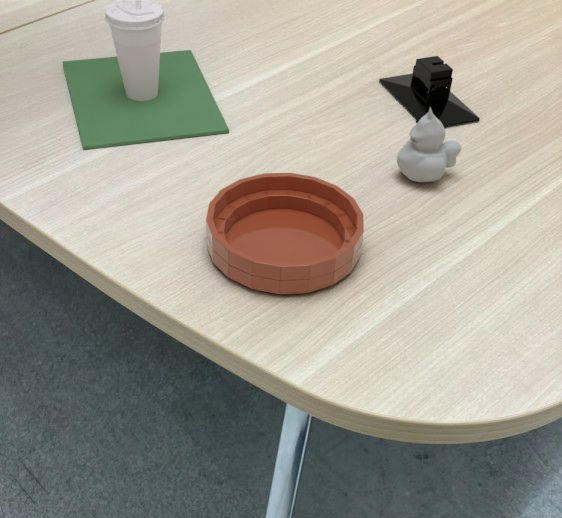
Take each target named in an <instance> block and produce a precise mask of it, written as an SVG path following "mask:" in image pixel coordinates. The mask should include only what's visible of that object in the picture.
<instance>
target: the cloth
mask: <svg viewBox="0 0 562 518" xmlns="http://www.w3.org/2000/svg"><path fill="white" fill-rule="evenodd" d="M62 66H63V70H64V75H65V78H66V79H65V80H66V82H67V83H66V84H67V87H68V91H69V95H70V99H71V104H72V108H73V113H74V116H75V121H76V125H77V129H78V133H79V137H80V142H81V145H82V150H92V149H101V148H109V147H110V148H111V147H119V146H127V145H137V144H144V143H154V142H163V141H170V140H178V139H186V138H187V139H188V138H197V137H205V136H213V135H221V134H229V133H230V129H229V126H228V125H227V123H226V119H225V118H224V117H223V114H222V111H221V110H220V108H219V106H218V104H217V102H216V100H215V97H214V96H213V94H212V91H211V89H210V87H209V85H208V83H207V81H206V78H205V77H204V75H203V72H202V71H201V69H200V67H199V64H198V62H197V59H196V58H195V56H194V53H193V52H192V50H191V49H184V50H175V51H163V52H160V64H159V84H158V95H157V96H156V97H155V98H154V99H151V100H148V101H135V100H132V99H130V98H128V97H127V95H126V92H125V88H124V83H123V79H122V75H121V71H120V67H119V63H118V58H117V56H108V57H97V58H87V59H76V60H64V61H62Z"/></svg>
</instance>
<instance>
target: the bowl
mask: <svg viewBox="0 0 562 518" xmlns="http://www.w3.org/2000/svg"><path fill="white" fill-rule="evenodd" d="M364 223H365V222H364V213H363V211H362V209H361V208H360V206H359V205H358V203H357V201H356V200H355V198H354V197H353V196H352V195H350V194H349V193H347V192H346V191H345V190H344V189H342V188H341V187H340V186H338V185H336V184H335V183H332V182H329V181H326V180H324V179H321V178H319V177H316V176H312V175H306V174H300V173H294V172H266V173H265V172H263V173H259V174H256V175H251V176H246V177H242V178H239V179H238V180H236V181H234V182H232V183H230V184H229V185H227V186H224V187H223V188H222V189H220V190H219V191H218V193H216V195H215V196H214V197H213V198H212V200H211V201H210V202H209V203H208V207H207V212H206V217H205V230H206V233H205V234H206V247H207V252H208V253H209V256H210V258H211V261H212V263H213V265H214V266H215V267H217V269H219V270H220V271H221V272H222V273H223V275H225V276H226V277H227V278H228V279H230V280H231V281H235V282H237V283H239V284H241V285H242V286H244V287H247V288H249V289H252V290H255V291H261V292H266V293H271V294H277V295H291V294H292V295H295V294H308V293H312V292H315V291H318V290H322V289H324V288H328V287H332V286H334V285H335V284H338V282H340V281H341V280H342V279H344V278H345V277H347V276H348V275H350V274H351V273H352V271H353V270H354V268H355V267H356V264H357V263H358V261H359V259H360V257H361V251H362V245H363V239H364V232H365V226H364Z"/></svg>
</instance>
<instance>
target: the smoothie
mask: <svg viewBox="0 0 562 518" xmlns="http://www.w3.org/2000/svg"><path fill="white" fill-rule="evenodd" d="M165 17H166V16H165V11H164V6H163V5H162V4H161V3H160V2H158V1H156V0H113V1H111V2H110V3H108V4H107V5H106V6H105V8H104V20H105V23H107V24H108V25H109V28H110V33H111V38H112V42H113V46H114V50H115V55H116V57H117V58H118V63H119V67H120V71H121V75H122V79H123V83H124V88H125V92H126V95H127V97H128V98H130V99H132V100H135V101H148V100H151V99H154V98H155V97H156V96H157V95H158V84H159V64H160V53H161V43H162V23H163V22H164V21H165Z"/></svg>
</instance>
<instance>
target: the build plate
mask: <svg viewBox="0 0 562 518" xmlns="http://www.w3.org/2000/svg"><path fill="white" fill-rule="evenodd" d="M453 71H454V69H453V68H452V67H451V66H450V65H449V64H448V63H445V61H444V60H443V59H442V58H441V57H440V56H439V55H433V56H427V57H419V58H416V59H415V65H413V68H412V73H407V74H401V75H394V76H389V77H382V78H379V80H378V82H379V84H381V86H382V87H383V88H384V89H385V90H386V91H387V92H388V93H389V94H390V95H391V96H392V97H393V98H394V99H395V100H396V101H397V102H398V103H399V104H400V105H401V106H402V107H403V108H404V109H405V110H406V111H407V113H409V115H411V116H412V117H413V118H414V119H415V123H416V124H417V123H418V122H419V120H420V119H421V118H422V117H423V116H424V115H426V114H427V113H428V112H429V109H430V107H431V110H432V113H433V114H434V116H435V117H436V118H437V119H438V120H440V121H441V123H442V124H443V126H444V128H445V129H447V128H452V127H457V126H462V125H469V124H474V123H479V122H480V121H481V118H480V117H479V116H478V115H477V114H476V113H475V112H474V111H473V110H472V109H470V108H469V107H468V106H467V105H466V104H465V103H464V102H463V101H462V100H461V99H459V97H457V96H456V95H455V94H454V93H453V92H452V91H451V90H452V89H451V88H452V83H453Z"/></svg>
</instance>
